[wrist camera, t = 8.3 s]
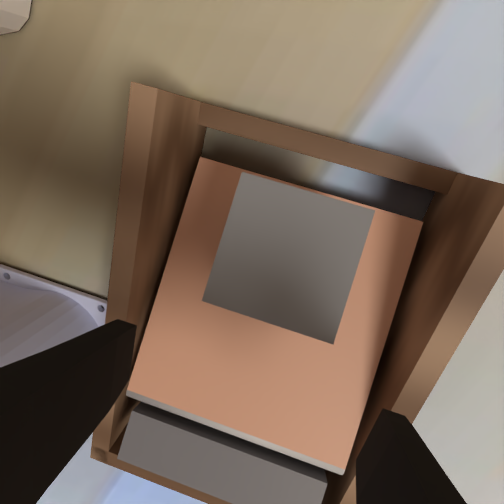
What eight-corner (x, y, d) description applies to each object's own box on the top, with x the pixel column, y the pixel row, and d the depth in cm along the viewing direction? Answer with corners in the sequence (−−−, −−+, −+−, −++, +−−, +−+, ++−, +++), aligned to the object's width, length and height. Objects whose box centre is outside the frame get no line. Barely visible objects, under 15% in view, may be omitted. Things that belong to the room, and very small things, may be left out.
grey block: (226, 288, 16) (201, 301, 11) (254, 199, 16) (242, 171, 11) (316, 317, 16) (333, 344, 11) (344, 226, 16) (375, 210, 11)
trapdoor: (317, 506, 17) (322, 541, 15) (126, 433, 18) (105, 457, 16) (405, 226, 17) (423, 221, 15) (209, 168, 18) (200, 156, 16)
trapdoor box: (331, 451, 23) (335, 553, 17) (143, 383, 24) (90, 457, 18) (466, 175, 16) (546, 196, 10) (192, 100, 17) (131, 81, 11)
